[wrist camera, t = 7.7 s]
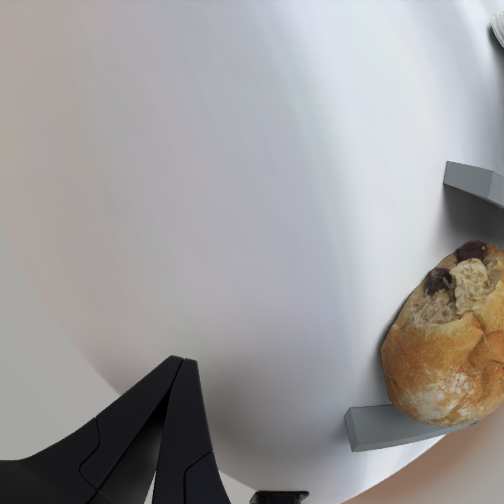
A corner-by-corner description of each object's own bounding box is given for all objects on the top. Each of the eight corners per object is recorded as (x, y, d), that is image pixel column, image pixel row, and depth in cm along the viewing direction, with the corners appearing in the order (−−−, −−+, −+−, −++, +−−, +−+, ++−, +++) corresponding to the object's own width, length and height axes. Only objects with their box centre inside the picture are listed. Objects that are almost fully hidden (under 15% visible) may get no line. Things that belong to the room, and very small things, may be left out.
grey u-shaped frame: (463, 399, 15) (476, 423, 12) (344, 415, 15) (351, 452, 12) (552, 220, 9) (579, 235, 6) (447, 160, 9) (493, 171, 6)
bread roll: (350, 336, 17) (361, 453, 11) (409, 216, 9) (477, 432, 4) (460, 321, 16) (482, 414, 11) (533, 226, 8) (588, 348, 3)
